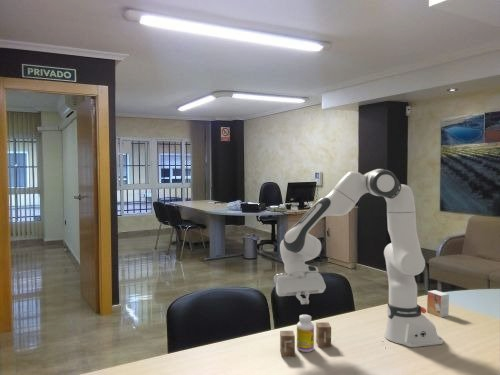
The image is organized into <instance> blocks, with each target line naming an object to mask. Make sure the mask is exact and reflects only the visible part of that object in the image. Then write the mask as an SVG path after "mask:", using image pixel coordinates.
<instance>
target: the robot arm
mask: <svg viewBox="0 0 500 375" xmlns="http://www.w3.org/2000/svg"><path fill="white" fill-rule="evenodd" d="M366 194H369V195H372V196H376V197H382V198H383V199H384V200H385V202H386V218H387V219H386V220H387V221H386V222H387V231H388V234H389V237H390V241H391V242H390V243H388V244H387V245H386V246H385V247H384V250H383V257H384V260H385V265H386V274H387V280H388V281H387V282H388V302H387V307H386V309H387V324H386V328H385V331H384V337H385V338H386V339H387V340H388V341H390V342H392V343H396V344H399V345H404V346H405V347H408V348H418V347H423V346H424V347H427V346H435V345H442V344H444V339H443V337H442V336H441V335H440V334H439V333H438V332H437V331H438V330H437V328H436V325H435V324H434V322H432V321H431V320H430V319H429V318H427V317H426V316H425V315H424V314H426V313H427V308H425V307H422V306H421V305H419V304H418V284H417V282H416V278H415V276H417V275H419V274H421V273H422V272H423V271H424V270H425V267H426V260H425V257H424V255H423V253H422V248H421V244H420V240H419V236H418V230H417V216H416V214H417V213H416V202H415V198H414V193H413V190H412V188H411V187H410V186H409V185H407V184H402V183H401V182H400V181H399V179H398V178H397V175H395V174H394V173H393V172H392V171H391V170H389V169H386V168H385V169H384V168H376V169H373V170H369V171H367V172H365V173H361V172H358V171H355V170H351V171H348V172H347V173H346V174H344V176H342V178H341V179H339V181H338V182H337V183H336V185H334V187H333V188H332V190H331V191H330V192H329V193H328V194H326V196H324V197H321V198H319V199H318V200H317V201H316V202H315V203H314V204H313V205H312V206H311V207H310V208H309V209H308V210H307V211H306V212H305V213H304V214H303V215H302V217H301V218H299V220H298V221H297V222H296V223H295V224H294V225H292V226H291V227H289V228H288V229H287V230H286V231H285V233H284V235H283V239H282V240H281V241H280V244H279V251H280V257H281V261H282V262H283V264H284V265H283V266H284V273H276V274H274V276H273V282H274V284H275V291H276V295H277V296H278V297H287V296H288V297H290V296H295V297H296V298H297V300H298V301H300V305H309V303H310V300H309V297H310V294H322V293H324V292H325V291H326V288H327V285H326V283H325V280H324V277H323V276H322V274H321V273H319V268H318V266H314V265H310V264H306V262H308V261H312V260H314V259H316V258H317V257H319V256H320V254H321V252H322V247H323V246H322V242H321V240H320V239H318V238H317V237H316V236H314V235H313V234H310V231H312V228H314V226H316V224H317V223H319V221H320V220H321V219H322V218H325V217H328V216H329V217H330V216H334V217H335V216H336V217H342V216H345V215H347V214H349V212H351V211H352V210H353V209H354V207H355V206H356V205H357V203H358V201H359V200H360V198H362V196H363V195H366ZM301 295H304V296H305V298H303V296H301Z"/></svg>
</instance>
